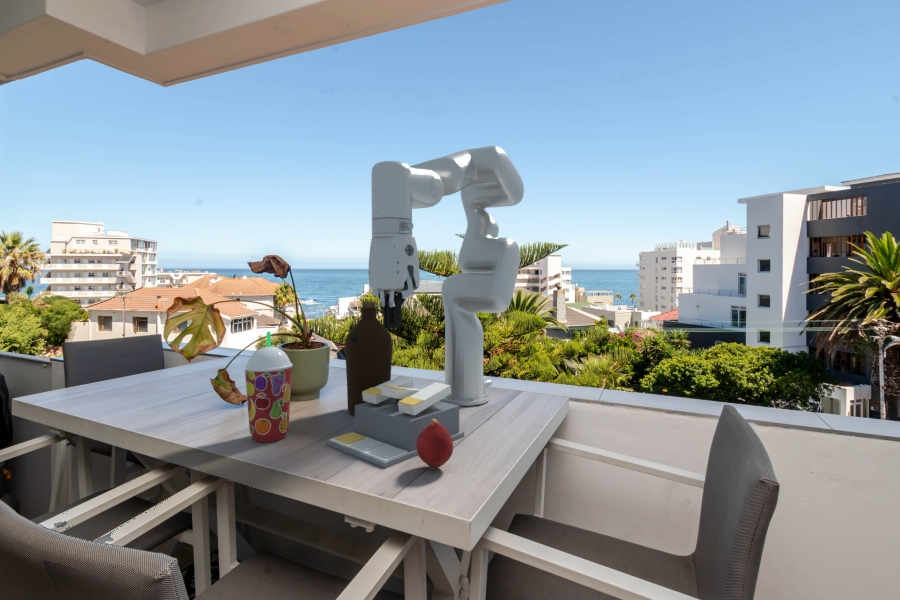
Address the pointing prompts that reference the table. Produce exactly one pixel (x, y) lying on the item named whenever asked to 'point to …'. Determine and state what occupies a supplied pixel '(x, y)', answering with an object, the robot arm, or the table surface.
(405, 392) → the rocker
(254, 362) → the smoothie
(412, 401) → the rocker
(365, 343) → the olive oil
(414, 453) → the switch unit
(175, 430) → the table surface
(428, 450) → the onion
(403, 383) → the rocker
